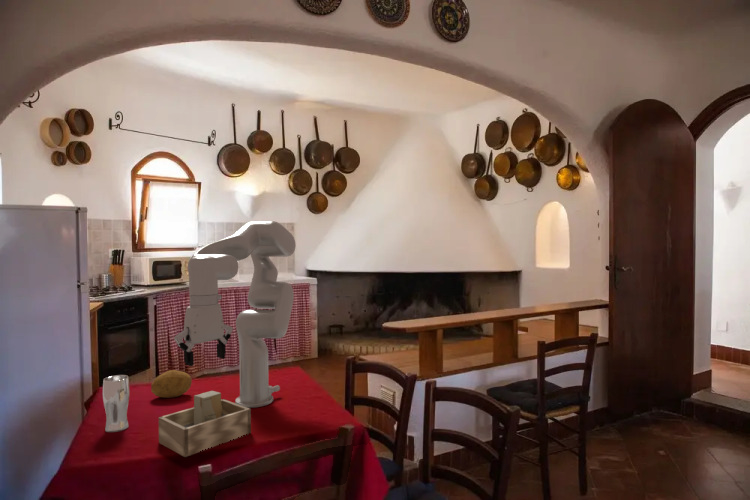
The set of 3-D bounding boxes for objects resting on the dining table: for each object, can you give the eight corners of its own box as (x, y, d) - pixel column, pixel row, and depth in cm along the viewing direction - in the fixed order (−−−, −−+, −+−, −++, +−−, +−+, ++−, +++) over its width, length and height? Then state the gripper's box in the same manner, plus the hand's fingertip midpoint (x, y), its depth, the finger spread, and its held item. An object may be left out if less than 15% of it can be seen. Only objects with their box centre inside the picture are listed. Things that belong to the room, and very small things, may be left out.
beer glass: (110, 424, 147) (109, 375, 147) (133, 423, 148) (133, 374, 148) (98, 433, 140) (97, 381, 140) (124, 432, 141) (123, 380, 141)
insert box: (223, 421, 149) (223, 398, 148) (250, 433, 140) (250, 408, 139) (158, 442, 133) (158, 417, 133) (184, 457, 124) (184, 429, 124)
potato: (153, 368, 176) (150, 372, 167) (193, 367, 180) (191, 371, 171) (152, 395, 175) (148, 401, 167) (191, 393, 179) (190, 399, 170)
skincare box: (202, 443, 133) (202, 398, 133) (193, 439, 136) (192, 395, 135) (222, 435, 138) (221, 392, 138) (212, 431, 141) (212, 389, 141)
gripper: (223, 296, 145) (225, 353, 146) (167, 303, 132) (169, 366, 132) (238, 298, 140) (239, 357, 141) (181, 305, 127) (183, 370, 127)
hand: (205, 361), depth 137 cm, fingers open, 9 cm apart
